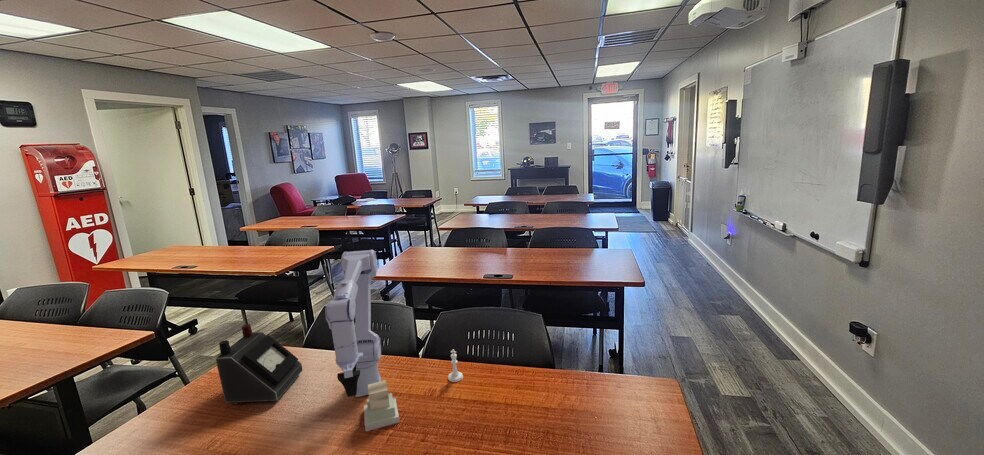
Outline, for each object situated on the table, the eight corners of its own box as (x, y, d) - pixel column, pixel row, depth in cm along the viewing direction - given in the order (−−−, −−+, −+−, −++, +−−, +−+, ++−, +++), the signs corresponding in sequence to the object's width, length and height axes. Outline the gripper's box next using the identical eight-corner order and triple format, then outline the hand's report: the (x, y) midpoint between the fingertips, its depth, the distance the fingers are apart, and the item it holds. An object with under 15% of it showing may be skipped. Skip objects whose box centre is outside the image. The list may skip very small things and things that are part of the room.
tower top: (367, 407, 115) (366, 399, 115) (392, 400, 118) (391, 392, 117) (369, 422, 109) (368, 414, 108) (395, 415, 111) (394, 407, 111)
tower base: (364, 413, 117) (363, 405, 116) (396, 405, 119) (395, 397, 119) (365, 433, 108) (364, 425, 108) (399, 424, 111) (398, 416, 110)
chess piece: (460, 382, 127) (458, 354, 125) (446, 381, 128) (443, 353, 126) (464, 373, 132) (462, 346, 130) (450, 372, 133) (448, 345, 131)
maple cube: (370, 400, 114) (367, 384, 113) (388, 395, 116) (385, 380, 115) (371, 410, 110) (368, 394, 109) (389, 405, 111) (387, 389, 110)
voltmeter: (279, 404, 122) (267, 344, 118) (226, 406, 122) (212, 346, 118) (304, 374, 138) (294, 320, 133) (257, 375, 138) (246, 322, 134)
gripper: (362, 351, 102) (368, 398, 105) (359, 328, 115) (365, 370, 118) (332, 357, 100) (339, 406, 103) (333, 333, 113) (340, 376, 116)
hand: (351, 387), depth 110 cm, fingers open, 7 cm apart
